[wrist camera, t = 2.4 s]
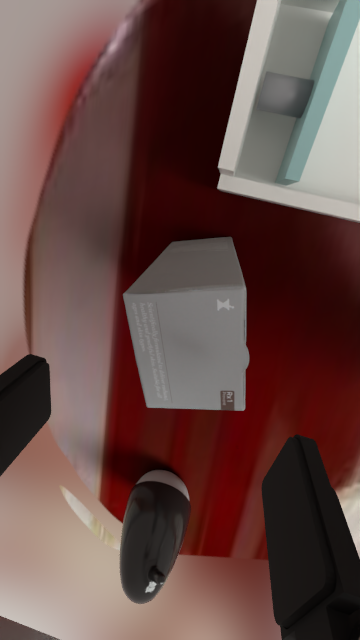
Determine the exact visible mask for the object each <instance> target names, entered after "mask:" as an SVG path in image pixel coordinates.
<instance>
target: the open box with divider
mask: <svg viewBox="0 0 360 640" xmlns="http://www.w3.org/2000/svg"><path fill="white" fill-rule="evenodd" d="M339 1H340V0H257V3H256V7H255V12H254V16H253V20H252V24H251V28H250V33H249V37H248V41H247V45H246V50H245V54H244V58H243V62H242V67H241V71H240V75H239V79H238V84H237V88H236V92H235V96H234V101H233V105H232V109H231V113H230V117H229V122H228V126H227V130H226V134H225V139H224V143H223V147H222V151H221V156H220V160H219V164H218V169H219V171H220V173H221V175H220V179H219V183H218V187H217V189H218V190H220V191H222V192H227V193H231V194H236V195H240V196H244V197H249V198H253V199H257V200H262V201H266V202H270V203H275V204H279V205H283V206H288V207H292V208H296V209H301V210H305V211H309V212H314V213H318V214H322V215H327V216H331V217H336V218H340V219H344V220H349V221H353V222H357V223H360V20H359V22H358V25H357V28H356V30H355V33H354V36H353V38H352V41H351V44H350V46H349V49H348V52H347V55H346V57H345V60H344V63H343V65H342V68H341V71H340V73H339V76H338V79H337V81H336V84H335V87H334V89H333V92H332V95H331V98H330V100H329V103H328V106H327V108H326V111H325V114H324V116H323V119H322V122H321V124H320V127H319V130H318V132H317V135H316V138H315V141H314V143H313V146H312V149H311V151H310V154H309V157H308V159H307V162H306V165H305V167H304V170H303V173H302V175H301V178H300V181H299V182H296V183H293V184H290V185H287V186H286V185H281V184H277V183H275V181H276V178H277V175H278V172H279V169H280V166H281V163H282V160H283V157H284V154H285V151H286V148H287V145H288V142H289V139H290V136H291V133H292V130H293V127H294V124H295V121H296V118H295V117H290V116H285V115H280V114H275V113H270V112H266V111H261V110H256V108H257V105H258V101H259V97H260V93H261V90H262V86H263V82H264V79H265V75H266V71H267V72H272V73H277V74H283V75H288V76H293V77H299V78H304V79H310V76H311V73H312V70H313V67H314V64H315V61H316V58H317V55H318V52H319V49H320V46H321V43H322V40H323V37H324V34H325V31H326V28H327V25H328V22H329V20H330V18H331V16H332V14H333V12H334V10H335V8H336V7H337V5H338V3H339Z"/></svg>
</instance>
